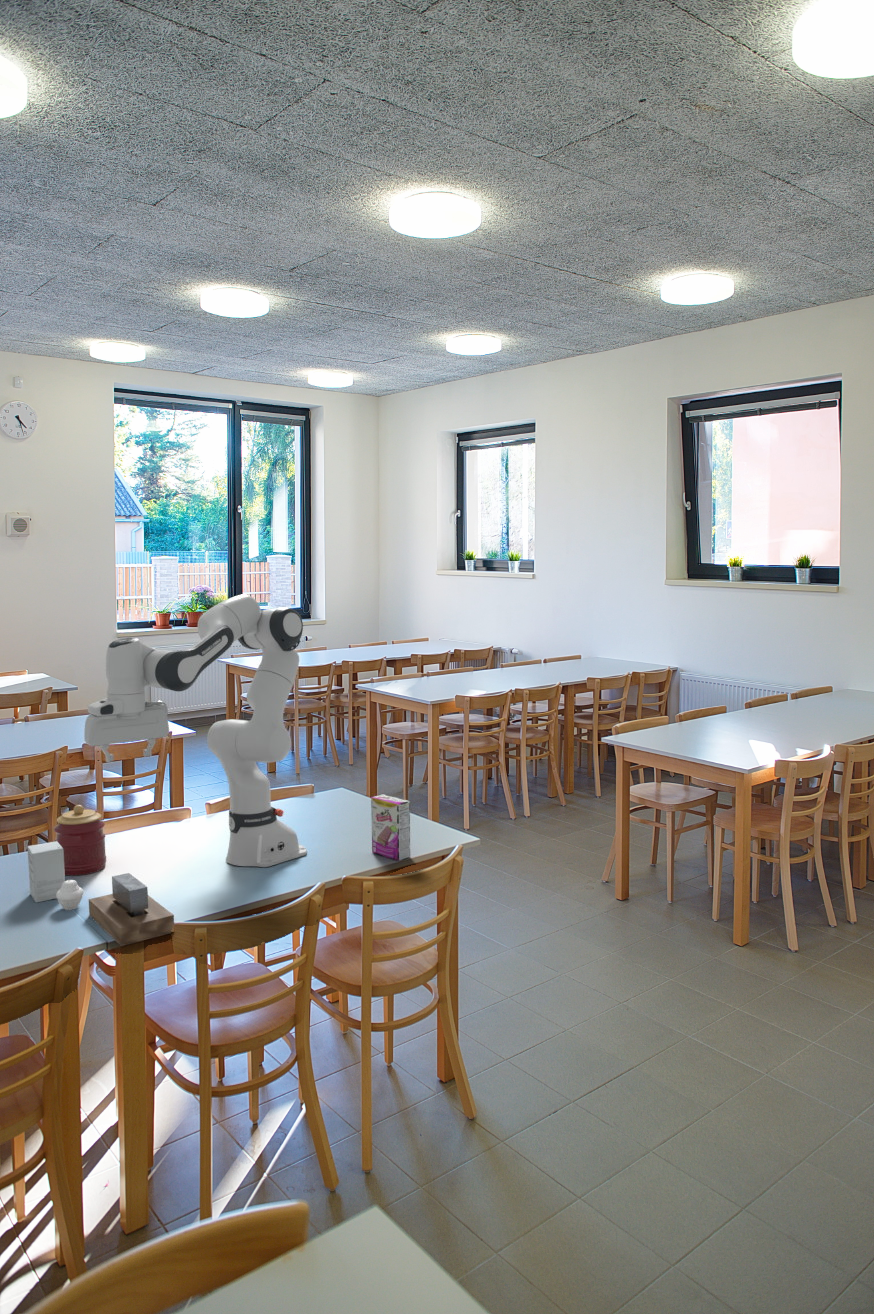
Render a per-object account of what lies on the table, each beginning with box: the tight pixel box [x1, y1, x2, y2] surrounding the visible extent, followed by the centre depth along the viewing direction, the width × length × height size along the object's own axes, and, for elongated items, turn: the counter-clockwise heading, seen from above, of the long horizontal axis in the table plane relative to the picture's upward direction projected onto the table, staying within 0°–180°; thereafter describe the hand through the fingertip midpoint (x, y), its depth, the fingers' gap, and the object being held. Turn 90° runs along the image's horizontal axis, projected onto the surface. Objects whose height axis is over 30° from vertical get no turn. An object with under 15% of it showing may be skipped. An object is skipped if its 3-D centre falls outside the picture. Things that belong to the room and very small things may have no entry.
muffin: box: [56, 879, 84, 911], centre depth 223 cm, size 6×6×7 cm
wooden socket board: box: [88, 893, 175, 947], centre depth 213 cm, size 12×22×4 cm, turn 38°
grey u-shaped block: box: [111, 872, 149, 918], centre depth 213 cm, size 4×12×10 cm, turn 38°
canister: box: [53, 804, 107, 876], centre depth 251 cm, size 13×13×18 cm
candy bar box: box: [370, 793, 411, 862], centre depth 260 cm, size 11×5×16 cm, turn 47°
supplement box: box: [26, 841, 66, 903], centre depth 231 cm, size 7×7×13 cm
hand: (128, 759), depth 230 cm, fingers open, 8 cm apart
